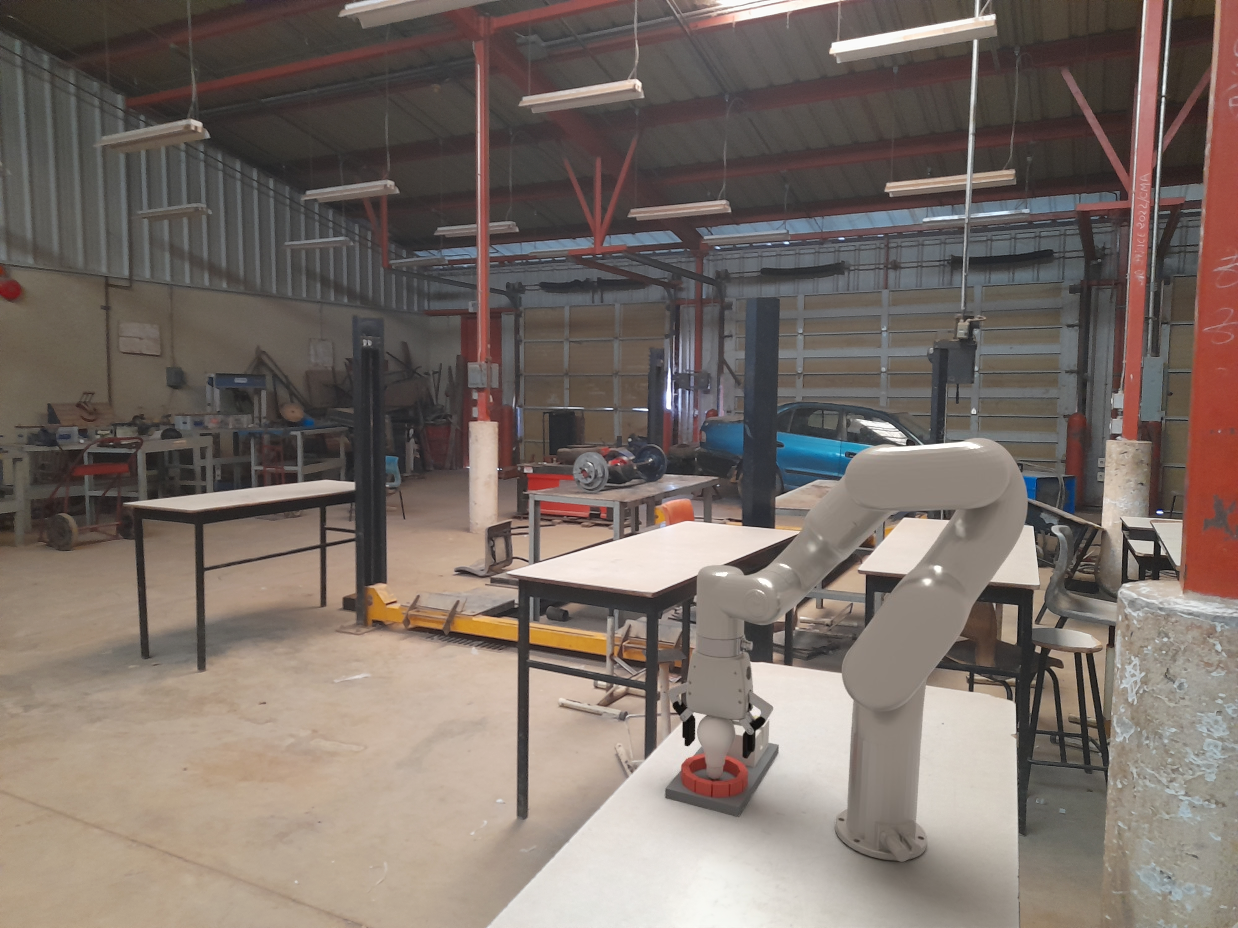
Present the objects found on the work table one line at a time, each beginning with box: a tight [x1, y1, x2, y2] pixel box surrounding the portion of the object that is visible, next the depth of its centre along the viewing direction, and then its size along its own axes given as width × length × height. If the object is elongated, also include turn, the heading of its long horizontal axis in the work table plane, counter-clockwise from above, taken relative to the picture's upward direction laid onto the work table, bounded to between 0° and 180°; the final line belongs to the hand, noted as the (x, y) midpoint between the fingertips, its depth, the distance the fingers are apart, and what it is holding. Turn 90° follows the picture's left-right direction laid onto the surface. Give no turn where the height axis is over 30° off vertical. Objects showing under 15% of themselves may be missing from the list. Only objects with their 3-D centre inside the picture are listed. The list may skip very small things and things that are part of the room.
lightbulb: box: [696, 715, 736, 779], centre depth 125 cm, size 6×6×11 cm
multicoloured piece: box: [664, 715, 780, 817], centre depth 131 cm, size 24×12×7 cm, turn 154°
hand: (718, 748), depth 125 cm, fingers open, 9 cm apart
